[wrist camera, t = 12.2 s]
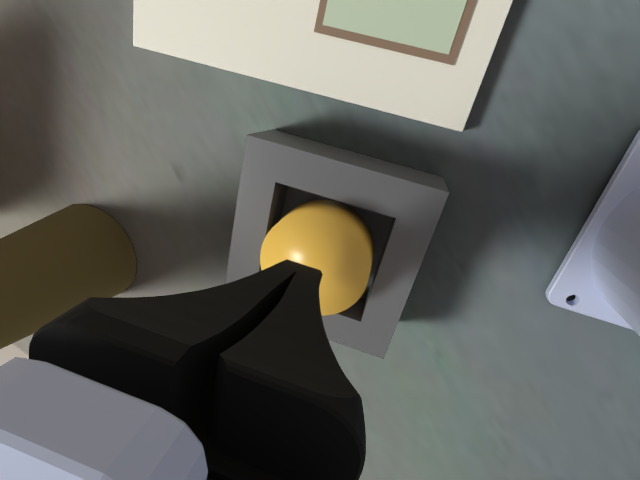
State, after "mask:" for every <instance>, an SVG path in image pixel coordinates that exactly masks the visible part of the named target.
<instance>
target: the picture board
mask: <svg viewBox="0 0 640 480" xmlns="http://www.w3.org/2000/svg"><path fill="white" fill-rule="evenodd" d="M512 1H513V0H134V14H133V46H137V47H141V48H144V49H148V50H152V51H156V52H160V53H163V54H167V55H171V56H175V57H179V58H182V59H186V60H190V61H194V62H198V63H202V64H205V65H209V66H213V67H217V68H221V69H224V70H228V71H232V72H236V73H240V74H243V75H247V76H251V77H255V78H259V79H262V80H266V81H270V82H274V83H278V84H281V85H285V86H289V87H293V88H297V89H300V90H304V91H308V92H312V93H316V94H320V95H323V96H327V97H331V98H335V99H339V100H342V101H346V102H350V103H354V104H358V105H361V106H365V107H369V108H373V109H377V110H380V111H384V112H388V113H392V114H396V115H399V116H403V117H407V118H411V119H415V120H419V121H422V122H426V123H430V124H434V125H438V126H441V127H445V128H449V129H453V130H457V131H460V132H462V131H463V129H464V126H465V124H466V121H467V118H468V116H469V113H470V111H471V108H472V105H473V103H474V100H475V98H476V95H477V92H478V90H479V87H480V85H481V82H482V79H483V77H484V74H485V72H486V69H487V66H488V64H489V61H490V58H491V56H492V53H493V51H494V48H495V45H496V43H497V40H498V38H499V35H500V32H501V30H502V27H503V25H504V22H505V19H506V17H507V14H508V12H509V9H510V6H511V4H512Z"/></svg>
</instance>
